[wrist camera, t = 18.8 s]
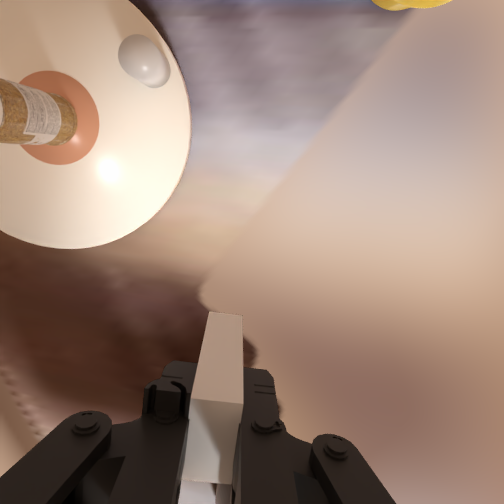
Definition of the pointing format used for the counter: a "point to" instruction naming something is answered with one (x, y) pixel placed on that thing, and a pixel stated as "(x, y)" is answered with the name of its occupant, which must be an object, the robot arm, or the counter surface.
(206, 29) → the counter surface
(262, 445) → the robot arm
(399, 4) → the plant pot
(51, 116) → the sprinkles bottle
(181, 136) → the disc
